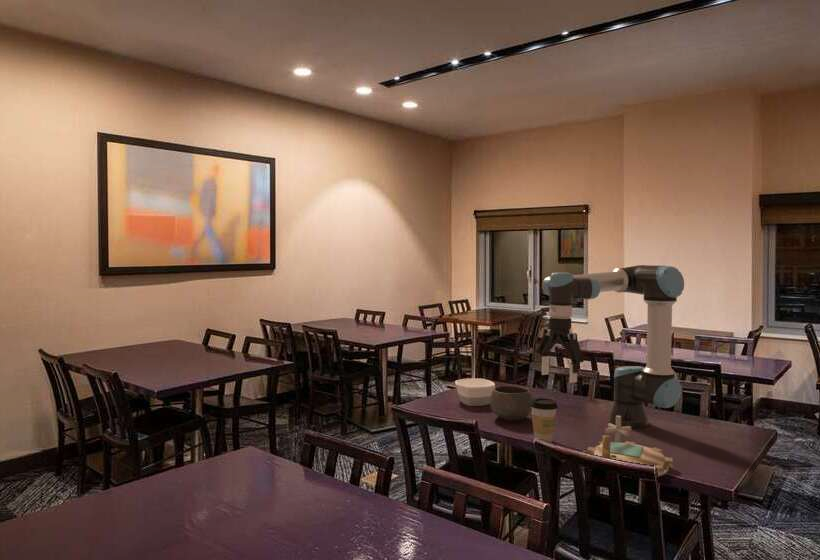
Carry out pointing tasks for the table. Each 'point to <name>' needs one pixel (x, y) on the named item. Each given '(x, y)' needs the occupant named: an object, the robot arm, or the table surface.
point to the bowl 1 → (474, 391)
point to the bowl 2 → (511, 402)
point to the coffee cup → (543, 417)
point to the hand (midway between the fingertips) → (558, 378)
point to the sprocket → (632, 453)
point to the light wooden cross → (618, 429)
